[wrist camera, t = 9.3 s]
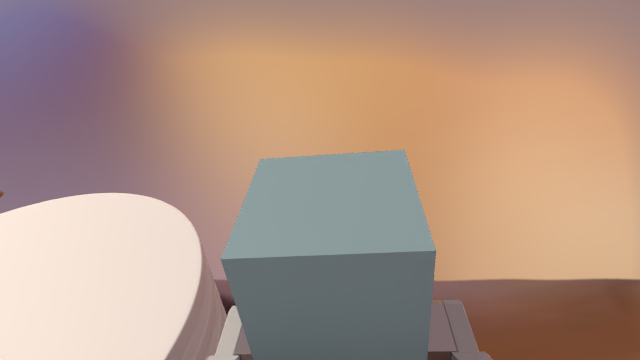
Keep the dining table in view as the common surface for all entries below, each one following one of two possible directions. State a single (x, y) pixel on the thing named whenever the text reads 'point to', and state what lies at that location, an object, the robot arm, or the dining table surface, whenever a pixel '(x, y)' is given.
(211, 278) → the plate stack
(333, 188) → the peg
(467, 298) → the dining table surface
